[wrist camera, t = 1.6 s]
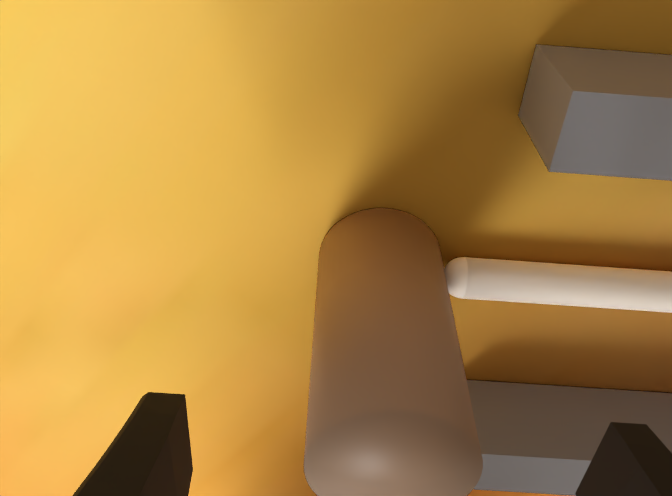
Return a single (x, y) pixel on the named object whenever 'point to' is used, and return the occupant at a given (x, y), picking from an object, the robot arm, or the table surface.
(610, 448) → the robot arm
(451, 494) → the tethered block
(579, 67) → the dark grey tray
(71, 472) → the table surface
